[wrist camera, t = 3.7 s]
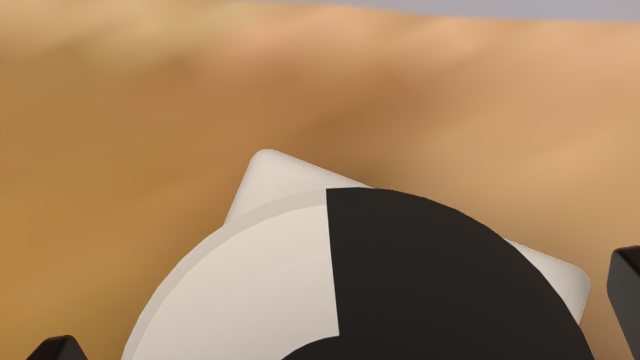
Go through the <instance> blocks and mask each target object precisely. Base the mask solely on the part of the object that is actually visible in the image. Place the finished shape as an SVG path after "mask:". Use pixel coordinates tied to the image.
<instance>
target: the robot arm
mask: <svg viewBox="0 0 640 360" xmlns="http://www.w3.org/2000/svg"><path fill="white" fill-rule="evenodd" d="M607 293H608V297H609V300H610V302H611V304H612V307H613V309H614V312H615V314H616V316H617V319H618V321H619V324H620V326H621V328H622V331H623V333H624V335H625V338H626V340H627V343H628V345H629V347H630V350H631V352H632V355H633V357H634V359H635V360H640V246H638V245H636V246H629V247H623V248H617V249H615V250H614V251H613V253H612V256H611V261H610V267H609V273H608V279H607ZM26 360H88V359H87V357H86V356H85V354H84V352H83V351H82V349H81V347H80V346H79V344H78V342H77V341H76V339H75V338H74V337H73V336H71V335H64V336H57V337H51V338H48V339H46V340H44V341H43V342H42V343H41V344H40V345H39V346H38V347H37V348H36V349H35V350H34V351H33V353H32V354H31V355H30V356H29V357H28V358H27V359H26Z"/></svg>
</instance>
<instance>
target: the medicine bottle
mask: <svg viewBox="0 0 640 360" xmlns="http://www.w3.org/2000/svg"><path fill="white" fill-rule="evenodd" d="M590 290H591V281H590V279H589V277H588V275H587V273H586V272H585V271H583V270H582V269H580V268H579V267H577V266H576V265H573V264H570V263H568V262H565V261H563V260H560V259H557V258H555V257H552V256H550V255H547V254H544V253H542V252H539V251H537V250H534V249H531V248H529V247H526V246H524V245H521V244H518V243H516V242H513V241H511V240H508V239H505V238H503V237H501V236H499V235H498V234H496V233H495V232H494V231H492V230H491V229H490V228H488V227H487V226H485V225H483V224H481V223H480V222H478V221H476V220H474V219H472V218H471V217H469V216H467V215H465V214H463V213H461V212H460V211H458V210H456V209H453V208H450V207H448V206H445V205H443V204H440V203H437V202H435V201H432V200H429V199H427V198H424V197H420V196H415V195H411V194H407V193H403V192H398V191H394V190H386V189H376V188H373V187H370V186H368V185H365V184H362V183H360V182H357V181H355V180H352V179H349V178H347V177H344V176H342V175H339V174H336V173H334V172H331V171H329V170H326V169H323V168H321V167H318V166H316V165H313V164H310V163H308V162H305V161H303V160H300V159H297V158H295V157H292V156H289V155H287V154H284V153H282V152H279V151H276V150H273V149H263V150H261V151H259V152H256V154H255V155H254V156H253V158H252V159H251V161H250V163H249V165H248V168H247V170H246V173H245V175H244V177H243V180H242V182H241V184H240V187H239V189H238V191H237V194H236V196H235V199H234V201H233V203H232V206H231V208H230V210H229V213H228V215H227V217H226V220H225V222H224V225H223V226H222V227H221V228H219V229H218V230H217V231H215V232H214V233H212V234H211V235H209V236H208V237H206V238H205V239H204V240H203V241H202V242H200V243H199V244H198V245H197V246H196V247H195V248H194V249H193V250H192V251H190V252H189V253H188V254H187V255H186V256H185V257H184V258H183V259H182V260H180V262H179V263H178V264H177V265H176V266H175V267H174V269H173V270H172V271H171V272H170V273H169V275H168V276H167V277H166V278H165V279H164V280H163V282H162V283H161V284H160V285H159V286H158V288H157V289H156V291H155V293H154V294H153V296H152V297H151V299H150V300H149V302H148V303H147V305H146V306H145V308H144V310H143V311H142V313H141V314H140V316H139V318H138V320H137V322H136V325H135V327H134V329H133V331H132V333H131V335H130V337H129V339H128V341H127V344H126V346H125V349H124V352H123V355H122V358H121V360H594V358H593V355H592V353H591V351H590V348H589V346H588V344H587V341H586V339H585V337H584V334H583V332H582V330H581V329H580V327H579V323H580V320H581V317H582V314H583V311H584V308H585V305H586V302H587V299H588V296H589V293H590Z"/></svg>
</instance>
